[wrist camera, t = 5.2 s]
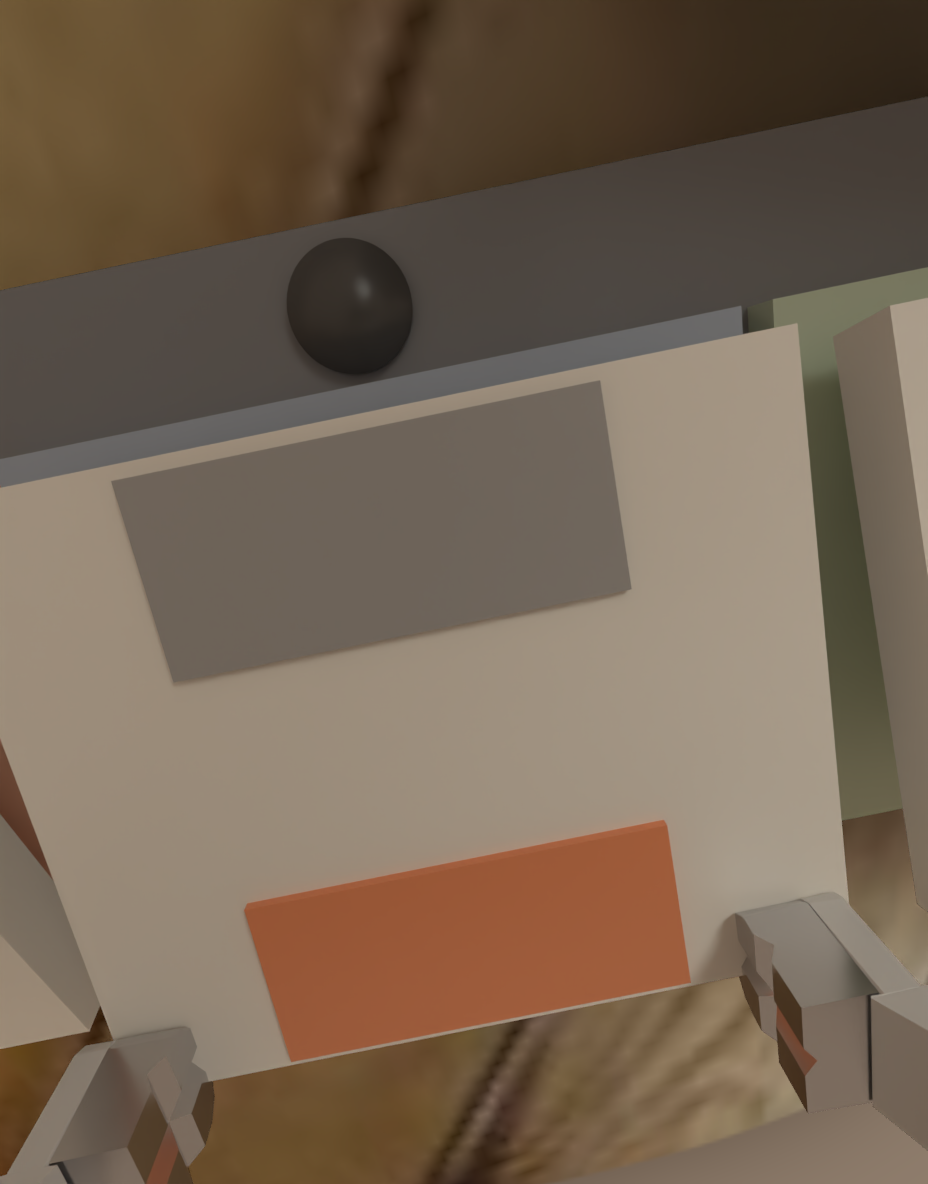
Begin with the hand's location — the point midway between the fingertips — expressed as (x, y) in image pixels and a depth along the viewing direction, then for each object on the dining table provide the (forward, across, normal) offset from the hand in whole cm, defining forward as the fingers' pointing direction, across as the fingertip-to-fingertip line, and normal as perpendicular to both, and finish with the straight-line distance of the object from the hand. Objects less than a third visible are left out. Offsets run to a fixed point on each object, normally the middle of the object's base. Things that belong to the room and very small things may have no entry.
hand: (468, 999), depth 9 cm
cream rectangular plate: (+1, 0, -4) cm, 4 cm away
